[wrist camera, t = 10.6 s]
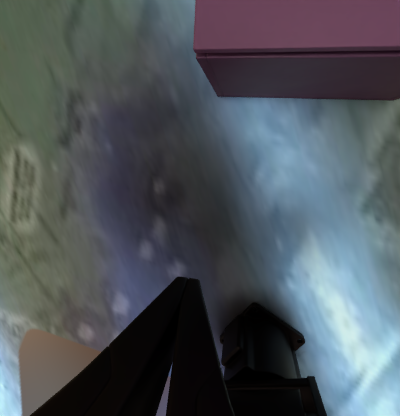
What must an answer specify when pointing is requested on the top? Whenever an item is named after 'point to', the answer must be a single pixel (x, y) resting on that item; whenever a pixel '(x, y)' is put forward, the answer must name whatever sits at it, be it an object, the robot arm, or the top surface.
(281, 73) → the file box
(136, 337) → the robot arm
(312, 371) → the top surface
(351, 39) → the flap
